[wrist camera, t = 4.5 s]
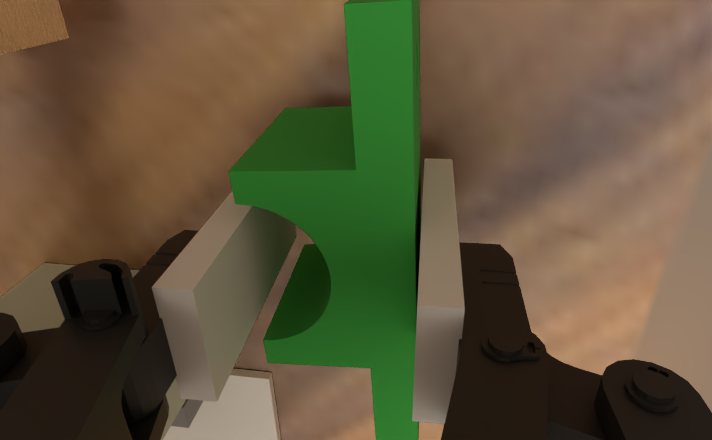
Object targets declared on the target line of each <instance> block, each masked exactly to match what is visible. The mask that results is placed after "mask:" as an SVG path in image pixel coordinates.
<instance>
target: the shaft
mask: <svg viewBox="0 0 712 440" xmlns="http://www.w3.org/2000/svg"><path fill="white" fill-rule="evenodd" d="M68 38H69V36H68V33H67V29H66V25H65V22H64V18H63V15H62V11H61V8H60V4H59V0H0V55H1V54H5V53H9V52H13V51H18V50H22V49H26V48H30V47H34V46H38V45H43V44H47V43H51V42H55V41H59V40H63V39H68Z"/></svg>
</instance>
